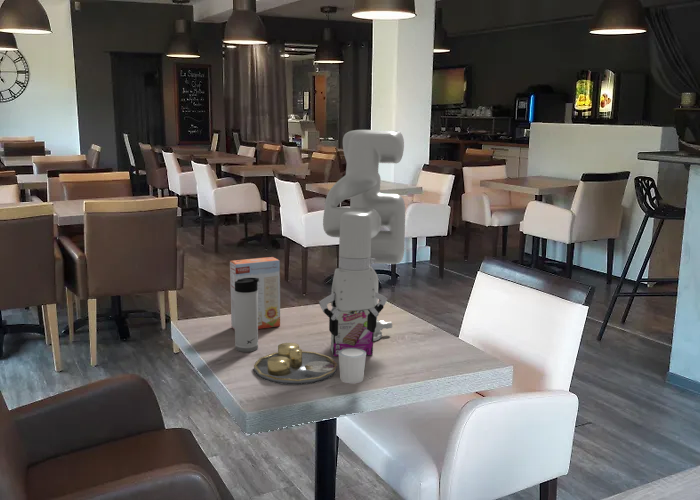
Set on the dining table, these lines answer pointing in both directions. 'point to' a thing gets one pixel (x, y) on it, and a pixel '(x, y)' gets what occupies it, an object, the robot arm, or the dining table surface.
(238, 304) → the travel mug
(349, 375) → the shot glass
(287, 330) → the dining table surface
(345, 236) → the robot arm
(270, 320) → the cracker box
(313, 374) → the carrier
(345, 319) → the candy bar box
